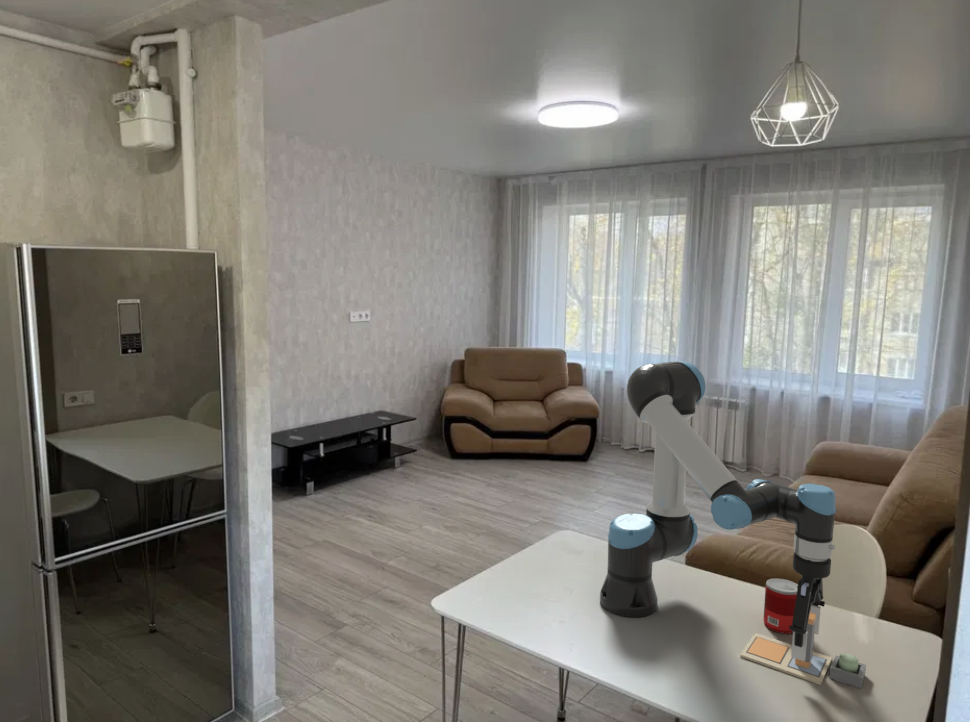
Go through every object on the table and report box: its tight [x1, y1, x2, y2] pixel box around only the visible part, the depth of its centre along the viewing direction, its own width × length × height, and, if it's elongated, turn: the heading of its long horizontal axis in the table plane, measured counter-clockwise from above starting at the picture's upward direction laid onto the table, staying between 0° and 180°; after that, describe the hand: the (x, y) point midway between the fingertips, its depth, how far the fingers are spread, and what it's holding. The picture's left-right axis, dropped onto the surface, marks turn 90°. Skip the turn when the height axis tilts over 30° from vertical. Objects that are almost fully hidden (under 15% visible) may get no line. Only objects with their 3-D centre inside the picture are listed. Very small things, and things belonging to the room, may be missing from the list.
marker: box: [795, 613, 816, 669], centre depth 148 cm, size 3×3×12 cm
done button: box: [839, 653, 859, 674], centre depth 145 cm, size 4×4×3 cm
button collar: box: [829, 655, 867, 689], centre depth 145 cm, size 6×6×2 cm
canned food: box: [763, 577, 798, 635], centre depth 166 cm, size 8×8×11 cm
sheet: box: [739, 632, 833, 686], centre depth 152 cm, size 17×12×1 cm
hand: (805, 644), depth 148 cm, fingers open, 13 cm apart
